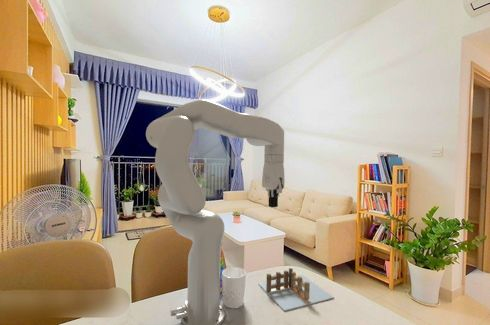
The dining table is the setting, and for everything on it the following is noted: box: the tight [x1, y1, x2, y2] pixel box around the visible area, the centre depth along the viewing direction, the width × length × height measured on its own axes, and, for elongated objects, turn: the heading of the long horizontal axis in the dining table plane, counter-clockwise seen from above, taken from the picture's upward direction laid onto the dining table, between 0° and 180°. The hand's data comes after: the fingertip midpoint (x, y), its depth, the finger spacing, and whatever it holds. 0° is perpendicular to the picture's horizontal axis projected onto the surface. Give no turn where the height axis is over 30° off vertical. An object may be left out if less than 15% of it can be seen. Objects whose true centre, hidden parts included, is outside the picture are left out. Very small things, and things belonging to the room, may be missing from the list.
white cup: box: [221, 266, 247, 309], centre depth 81 cm, size 8×8×10 cm
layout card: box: [258, 274, 335, 313], centre depth 89 cm, size 20×18×1 cm
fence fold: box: [291, 271, 310, 300], centre depth 86 cm, size 9×1×6 cm, turn 23°
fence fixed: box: [266, 267, 294, 293], centre depth 89 cm, size 10×1×7 cm, turn 113°
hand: (273, 206), depth 96 cm, fingers closed
